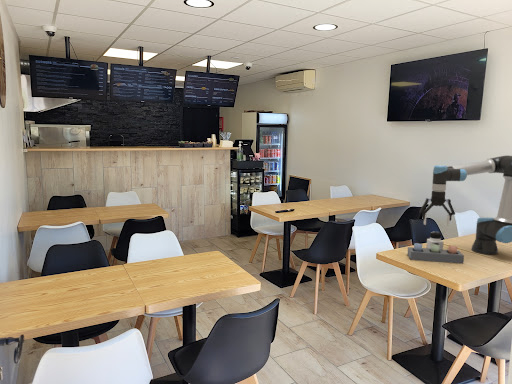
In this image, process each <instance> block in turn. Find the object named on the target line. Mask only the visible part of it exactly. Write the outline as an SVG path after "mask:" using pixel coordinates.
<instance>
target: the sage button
mask: <svg viewBox="0 0 512 384" xmlns="http://www.w3.org/2000/svg"><path fill="white" fill-rule="evenodd" d="M439 248H440V246H439V245H436V244H432V245H431V252H434V253H439Z"/></svg>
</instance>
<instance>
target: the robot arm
mask: <svg viewBox="0 0 512 384" xmlns="http://www.w3.org/2000/svg"><path fill="white" fill-rule="evenodd" d="M484 173H488V174H495V173H496V174H502V177H503V178H504V184H503V189H502V193H501V198H500V202H499V207H498V211H497V215H496V216H495V217H478V218H477V221H476V231H475V239H474V241H473V244H472V246H471V251H472V252H474V253H478V254H483V255H490V256H491V255H493V256H494V255H498V254H499V249H498V244H497V242H498V243H503V244H510V243H512V155H501V156H496V157H491V158H487V159H485V160H481V161H475V162H469V163H463V164H456V165H449V166H448V165H440V164H439V165H434V166H433V170H432V184H431V186H432V187H431V190H432V191H431V197H430V198H428V197H426V198H425V201H424V203H423V204H422V206H421V208H420V209H419V213H420V214H422V215H421V216H422V217H421V219H422V220H423V225H425V226H426V225H427V213H428V211H430V210H431V208H432V207H434V206H435V207H442V208H443V209H444V210H445V212H446V213H447V215H446V227H449V226H450V222H451V221H452V216H455V215H456V212H455V210H454V208H453V205H452V203H451V199H450V198H448V199H446V188H447V182H464V181H465V180H466V179H467V176H473V175H477V174H484ZM429 202H431V203H430V204H429V205H428V203H429ZM445 203H447V205H448V207H449V208H447V206H446V204H445ZM427 205H428V206H427Z"/></svg>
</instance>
